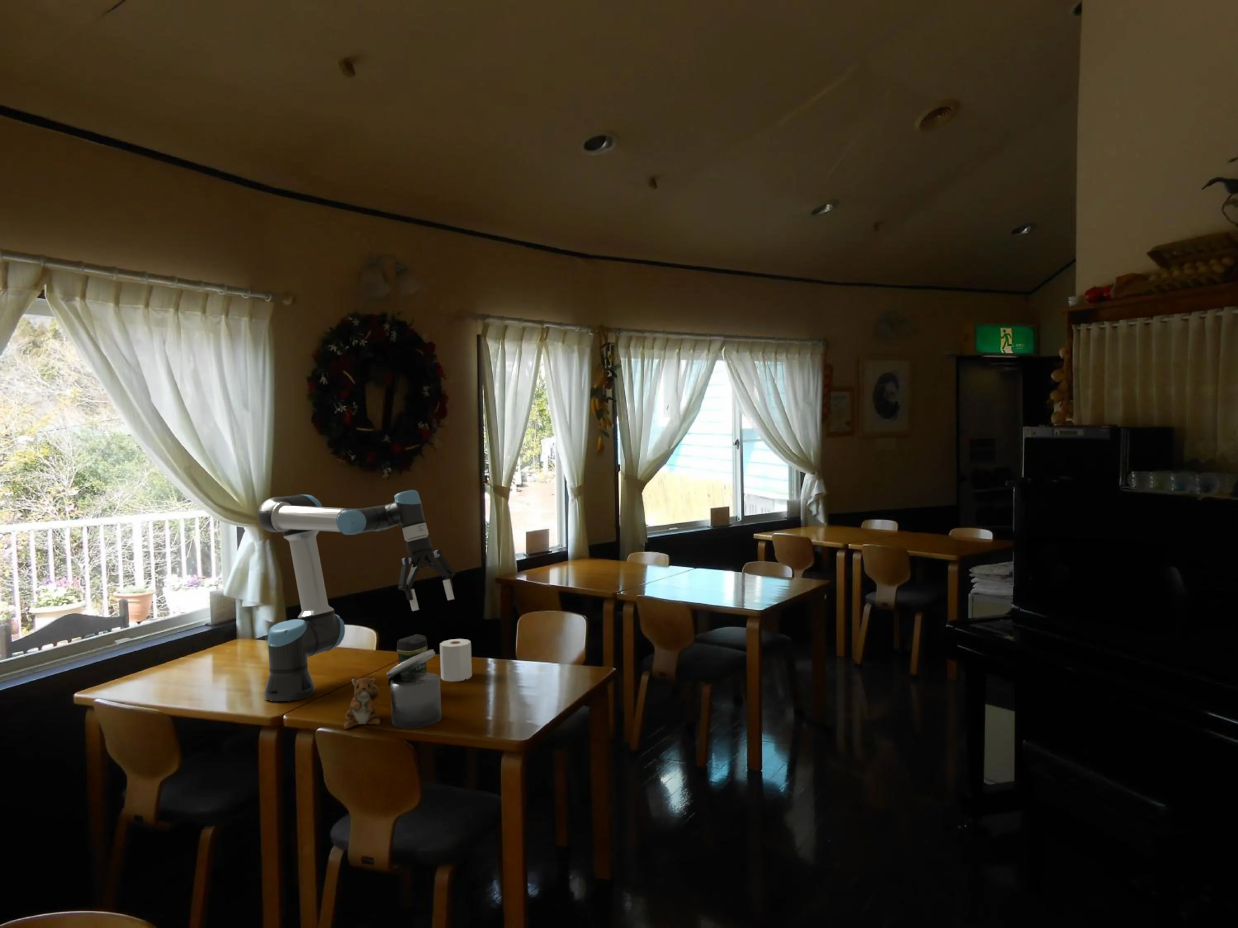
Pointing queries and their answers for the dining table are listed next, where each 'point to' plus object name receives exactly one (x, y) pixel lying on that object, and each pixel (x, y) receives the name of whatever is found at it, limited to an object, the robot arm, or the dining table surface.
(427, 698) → the cooker pot
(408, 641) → the coffee jar
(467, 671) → the toilet paper
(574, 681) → the dining table surface
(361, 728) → the dining table surface
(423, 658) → the lid
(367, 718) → the stuffed squirrel
